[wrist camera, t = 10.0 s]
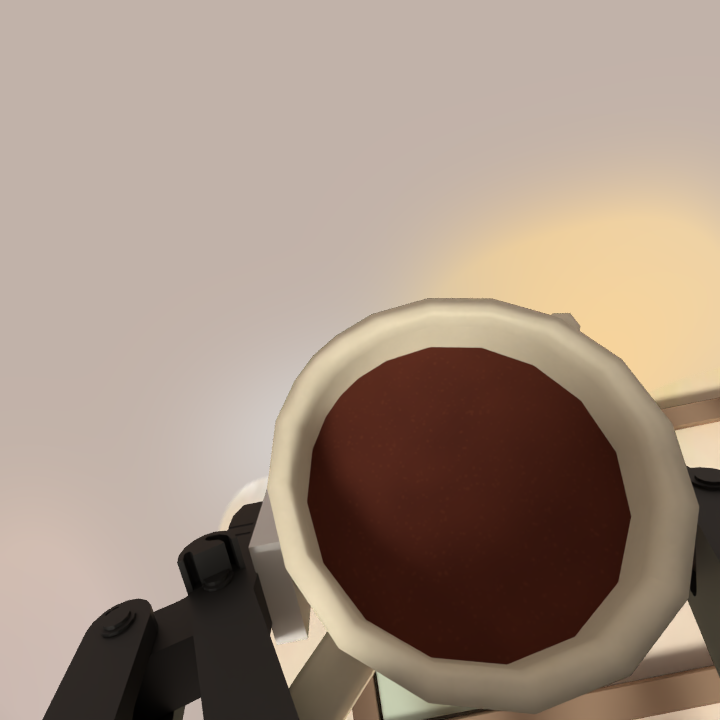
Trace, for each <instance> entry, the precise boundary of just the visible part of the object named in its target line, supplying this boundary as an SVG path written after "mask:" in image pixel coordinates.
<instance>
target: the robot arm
mask: <svg viewBox="0 0 720 720" xmlns="http://www.w3.org/2000/svg"><path fill="white" fill-rule="evenodd" d="M686 467H687V470H688V474H689V477H690V480H691V483H692V486H693V489H694V492H695V495H696V498H697V501H698V504H699V514H698V522H697V531H696V539H695V548H694V556H693V565H692V574H691V582H690V591H689V598H688V602H689V605H690V607H691V609H692V612H693V614H694V617H695V619H696V622H697V624H698V626H699V629H700V631H701V634H702V636H703V639H704V641H705V644H706V646H707V648H708V651H709V653H710V656H711V658H712V661H713V663H714V665H715V668H716V670H717V673H718V675H719V678H720V470H718V469H713V468H701V467H698V468H689V467H688V466H686ZM177 563H178V566H179V569H180V572H181V575H182V578H183V581H184V584H185V587H186V590H187V593H188V596H187V597H186V598H184V599H182V600H180V601H178V602H176V603H174V604H171V605H169V606H167V607H164V608H162V609H160V610H157V611H155V612H153V609H152V607H151V605H150V603H149V602H148V601H147V600H143V599H134V600H128V601H125V602H123V603H121V604H118V605H116V606H114V607H112V608H111V609H109V610H107V611H106V612H104V613H103V614H102V615H101V616H100V617H99V618H98V619H97V620H96V621H94V622H93V623H92V625H91V626H90V627H89V629H88V630H87V632H86V633H85V635H84V637H83V639H82V642H81V643H80V645H79V647H78V649H77V651H76V654H75V655H74V657H73V659H72V661H71V663H70V665H69V667H68V669H67V671H66V674H65V676H64V677H63V680H62V681H61V683H60V685H59V687H58V689H57V691H56V693H55V695H54V698H53V700H52V701H51V704H50V706H49V708H48V709H47V711H46V714H45V716H44V718H43V720H183V715H184V709H185V705H187V704H189V703H191V702H193V701H195V700H196V699H199V698H201V701H202V709H203V717H204V720H300V719H299V717H298V714H297V711H296V708H295V705H294V702H293V700H292V697H291V694H290V691H289V688H288V685H287V683H286V680H285V677H284V674H283V671H282V668H281V666H280V663H279V660H278V657H277V654H276V651H275V648H274V646H273V643H272V640H271V637H270V633H271V628H272V630H273V633H274V637H275V640H276V644H277V645H279V644H284V643H289V642H294V641H299V640H304V639H308V631H309V620H310V608H311V606H310V604H309V603H308V601H307V600H306V598H305V597H304V595H303V594H302V592H301V591H300V589H299V588H298V586H297V585H296V583H295V582H294V580H293V579H292V577H291V576H290V574H289V573H288V571H287V570H286V568H285V564H284V559H283V555H282V551H281V546H280V542H279V537H278V533H277V529H276V524H275V520H274V516H273V511H272V507H271V503H270V498H269V494H268V489H267V490H266V494H265V497H264V500H263V501H262V502H257V503H252V504H247V505H244V506H243V507H242V508H241V509H240V510H239V511H238V512H237V513H236V514H235V515H234V516H233V518H232V520H231V523H230V525H229V530H227V531H218V532H213V533H210V534H207V535H204V536H202V537H200V538H198V539H196V540H194V541H193V542H192V543H190V544H189V545H188V546H186V547H185V548H184V550H183V551H182V552H181V553H180V555H179V557H178V562H177Z"/></svg>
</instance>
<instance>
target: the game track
mask: <svg viewBox="0 0 720 720" xmlns="http://www.w3.org/2000/svg"><path fill="white" fill-rule="evenodd" d="M661 410H662V411H663V412H664V414H665V415H666V416H667V417H668V419H669V420H670V421H671V423H672V424H673V427H674V430H678V429H683V428H688V427H693V426H698V425H703V424H708V423H713V422H718V421H720V398H715V399H710V400H705V401H700V402H695V403H690V404H685V405H680V406H675V407H670V408H665V409H661ZM376 674H377V681H378V687H379V694H380V700H381V707H382V713H383V720H423V719H428V718H433V717H438V716H443V715H448V714H454V713H459V712H464V711H469V710H474V709H479V708H470V707H461V706H451V705H442V704H432V703H427V702H426V701H424V700H422V699H421V698H419V697H418V696H416V695H414V694H413V693H411V692H409V691H408V690H406V689H404V688H403V687H401V686H400V685H398V684H396V683H395V682H393V681H391V680H390V679H388V678H387V677H385V676H383V675H382V674H380V673H378V672H377V671H376ZM716 703H720V678H719V675H718V673H717V670H716V668H715V665H713V666H708V667H703V668H698V669H693V670H688V671H683V672H678V673H673V674H668V675H663V676H658V677H653V678H648V679H642V680H637V681H632V682H627V683H622V684H617V685H612V686H607V687H602V688H599V689H596V690H594V691H591V692H589V693H586V694H584V695H581V696H579V697H577V698H574V699H572V700H569V701H567V702H564V703H562V704H559V705H557V706H555V707H552V708H550V709H547V710H545V711H542V712H540V713H537V714H528V713H518V712H509V711H499V710H485V711H480V712H475V713H470V714H465V715H460V716H455V717H450V718H445V719H440V720H634V719H639V718H644V717H650V716H655V715H660V714H665V713H670V712H675V711H680V710H685V709H690V708H695V707H700V706H706V705H711V704H716ZM352 710H353V718H354V720H381V719H380V712H379V706H378V699H377V692H376V686H375V679H374V674H373V676H372V677H371V679H370V681H369V682H368V684H367V685H366V687H365V689H364V690H363V692H362V693H361V695H360V697H359V698H358V700H357V701H356V703H355V705H354V706H353V708H352Z"/></svg>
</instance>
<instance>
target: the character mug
mask: <svg viewBox="0 0 720 720" xmlns="http://www.w3.org/2000/svg"><path fill="white" fill-rule="evenodd" d="M267 489H268V494H269V498H270V503H271V507H272V511H273V516H274V520H275V524H276V529H277V533H278V537H279V542H280V546H281V551H282V555H283V559H284V564H285V568H286V570H287V571H288V573H289V574H290V576H291V577H292V579H293V580H294V582H295V583H296V585H297V586H298V588H299V589H300V591H301V592H302V594H303V595H304V597H305V598H306V600H307V601H308V603H309V604H310V606H311V607H312V609H313V610H314V612H315V613H316V615H317V616H318V618H319V619H320V621H321V622H322V624H323V625H324V627H325V628H326V630H327V631H328V632H327V633H326V634H325V636H324V637H323V639H322V640H321V642H320V643H319V645H318V646H317V648H316V649H315V650H314V652H313V653H312V655H311V656H310V658H309V659H308V661H307V662H306V664H305V665H304V666H303V668H302V669H301V671H300V672H299V674H298V675H297V677H296V678H295V680H294V681H293V683H292V684H291V686H290V688H289V691H290V694H291V697H292V700H293V702H294V705H295V708H296V711H297V714H298V717H299V719H300V720H345V719H346V717H347V716H348V714H349V713H350V711H351V709H352V708H353V706H354V705H355V703H356V701H357V700H358V698H359V697H360V695H361V693H362V692H363V690H364V689H365V687H366V685H367V684H368V682H369V681H370V679H371V677H372V676H373V674H374V673H375V671H377V672H378V673H380V674H382V675H383V676H385V677H387V678H388V679H390V680H391V681H393V682H395V683H396V684H398V685H400V686H401V687H403V688H404V689H406V690H408V691H409V692H411V693H413V694H414V695H416V696H418V697H419V698H421V699H422V700H424V701H426V702H427V703H432V704H442V705H451V706H461V707H470V708H480V709H489V710H499V711H509V712H518V713H528V714H537V713H540V712H542V711H545V710H547V709H550V708H552V707H555V706H557V705H559V704H562V703H564V702H567V701H569V700H572V699H574V698H577V697H579V696H581V695H584V694H586V693H589V692H591V691H594V690H596V689H599V688H601V687H604V686H606V685H608V684H611V683H613V682H616V681H618V680H621V679H623V678H626V677H628V676H630V675H632V673H633V672H634V671H635V669H636V668H637V667H638V665H639V664H640V662H641V661H642V660H643V658H644V657H645V656H646V654H647V653H648V652H649V650H650V649H651V648H652V646H653V645H654V644H655V642H656V641H657V640H658V638H659V637H660V636H661V634H662V633H663V632H664V630H665V629H666V628H667V626H668V625H669V624H670V622H671V621H672V620H673V618H674V617H675V616H676V614H677V613H678V612H679V610H680V609H681V608H682V606H683V605H684V604H685V602H686V601H687V600H688V598H689V591H690V582H691V574H692V565H693V556H694V548H695V539H696V531H697V522H698V514H699V504H698V501H697V498H696V495H695V492H694V489H693V486H692V483H691V480H690V477H689V474H688V470H687V467H686V464H685V461H684V458H683V455H682V452H681V449H680V446H679V443H678V440H677V436H676V433H675V430H674V427H673V424H672V423H671V421H670V420H669V419H668V417H667V416H666V415H665V414H664V412H663V411H662V410H661V409H660V407H659V406H658V405H657V403H656V402H655V401H654V400H653V398H652V397H651V396H650V394H649V393H648V392H647V391H646V389H645V388H644V387H643V386H642V384H641V383H640V382H639V381H638V379H637V378H636V377H635V375H634V374H633V373H632V372H631V370H630V369H629V368H628V366H627V365H626V364H625V363H624V361H623V360H622V359H621V358H619V357H617V356H616V355H615V354H613V353H612V352H610V351H609V350H607V349H606V348H604V347H603V346H601V345H600V344H598V343H597V342H595V341H594V340H592V339H591V338H589V337H588V336H586V335H585V334H583V333H582V332H580V325H579V324H578V323H577V321H576V320H575V319H574V317H573V316H572V315H571V314H570V313H562V314H561V313H560V314H559V313H554V314H552V315H549V314H545V313H541V312H538V311H534V310H531V309H527V308H524V307H520V306H517V305H513V304H510V303H506V302H503V301H499V300H495V299H468V298H457V299H455V298H452V299H451V298H450V299H449V298H435V299H434V298H427V299H424V300H421V301H417V302H413V303H410V304H406V305H402V306H399V307H396V308H392V309H388V310H385V311H381V312H378V313H374V314H371V315H370V316H368V317H366V318H365V319H363V320H361V321H360V322H358V323H356V324H355V325H353V326H351V327H350V328H348V329H346V330H345V331H343V332H342V333H340V334H338V335H336V336H335V337H334V338H333V339H332V340H330V341H329V342H328V343H327V344H326V345H325V346H324V347H322V348H321V349H320V350H319V351H318V352H317V353H316V354H315V355H313V357H312V358H311V359H310V361H309V362H308V363H307V365H306V366H305V368H304V369H303V370H302V371H301V373H300V374H299V376H298V377H297V378H296V380H295V381H294V383H293V385H292V388H291V390H290V392H289V394H288V396H287V398H286V400H285V403H284V405H283V407H282V409H281V411H280V413H279V415H278V417H277V419H276V423H275V431H274V438H273V446H272V455H271V462H270V471H269V477H268V485H267Z"/></svg>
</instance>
